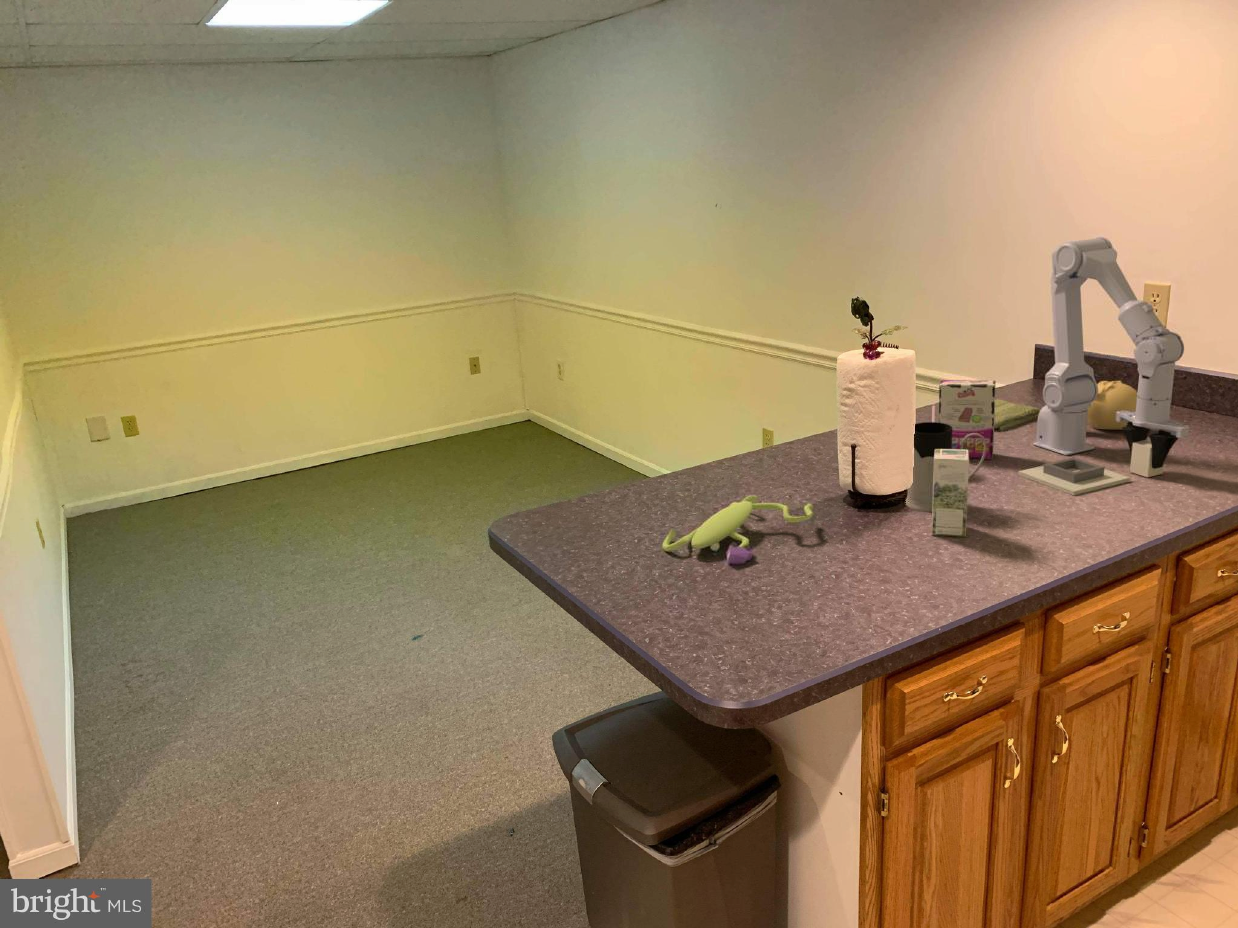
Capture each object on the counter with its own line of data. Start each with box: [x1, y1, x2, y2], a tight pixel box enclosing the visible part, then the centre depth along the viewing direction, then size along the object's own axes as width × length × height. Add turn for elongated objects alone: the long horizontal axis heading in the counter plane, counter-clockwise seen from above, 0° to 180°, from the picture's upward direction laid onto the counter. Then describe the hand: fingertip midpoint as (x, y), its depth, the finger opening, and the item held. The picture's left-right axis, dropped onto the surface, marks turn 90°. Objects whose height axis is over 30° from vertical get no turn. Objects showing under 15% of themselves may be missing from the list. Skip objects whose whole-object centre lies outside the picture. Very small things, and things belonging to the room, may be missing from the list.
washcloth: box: [994, 398, 1041, 432], centre depth 225 cm, size 13×18×3 cm
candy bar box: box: [938, 379, 996, 460], centre depth 200 cm, size 11×5×16 cm, turn 68°
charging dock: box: [1017, 456, 1131, 496], centre depth 184 cm, size 14×14×3 cm
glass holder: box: [904, 421, 987, 513], centre depth 175 cm, size 9×14×15 cm, turn 78°
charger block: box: [1129, 438, 1165, 478], centre depth 183 cm, size 4×4×6 cm
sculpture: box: [1087, 380, 1138, 431], centre depth 211 cm, size 11×12×11 cm
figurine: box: [662, 494, 814, 565], centre depth 168 cm, size 18×27×6 cm
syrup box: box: [931, 449, 970, 538], centre depth 163 cm, size 6×6×14 cm
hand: (1147, 464), depth 183 cm, fingers closed on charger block, 4 cm apart
